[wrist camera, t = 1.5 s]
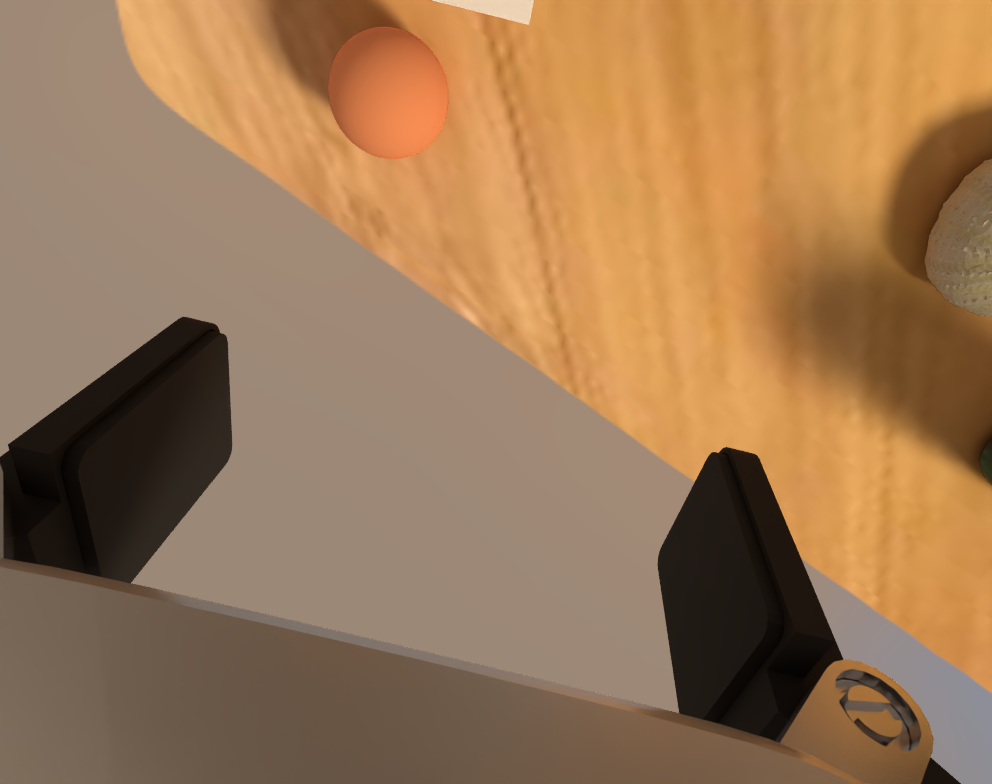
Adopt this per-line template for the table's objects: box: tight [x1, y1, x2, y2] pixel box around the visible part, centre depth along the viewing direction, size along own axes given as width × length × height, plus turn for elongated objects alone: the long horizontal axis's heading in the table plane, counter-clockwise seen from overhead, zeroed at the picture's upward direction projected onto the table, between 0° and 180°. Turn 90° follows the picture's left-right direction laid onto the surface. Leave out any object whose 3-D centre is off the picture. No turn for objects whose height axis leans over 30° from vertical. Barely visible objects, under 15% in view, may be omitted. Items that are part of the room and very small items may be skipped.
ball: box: [328, 27, 448, 159], centre depth 30 cm, size 6×6×6 cm
